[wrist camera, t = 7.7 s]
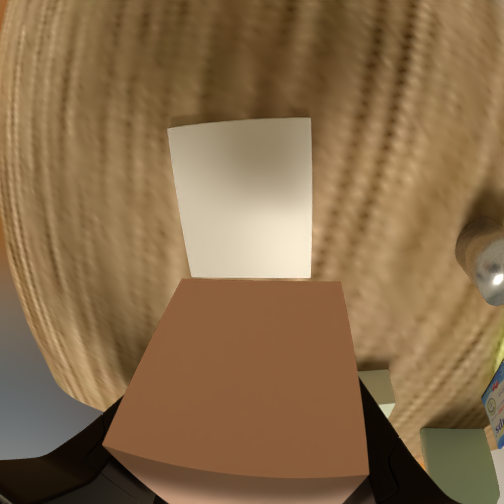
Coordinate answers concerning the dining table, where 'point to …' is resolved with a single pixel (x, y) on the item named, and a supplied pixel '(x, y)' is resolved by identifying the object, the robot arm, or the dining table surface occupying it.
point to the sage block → (379, 388)
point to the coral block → (246, 397)
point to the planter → (460, 464)
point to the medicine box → (496, 405)
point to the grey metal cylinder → (483, 257)
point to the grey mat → (245, 196)
